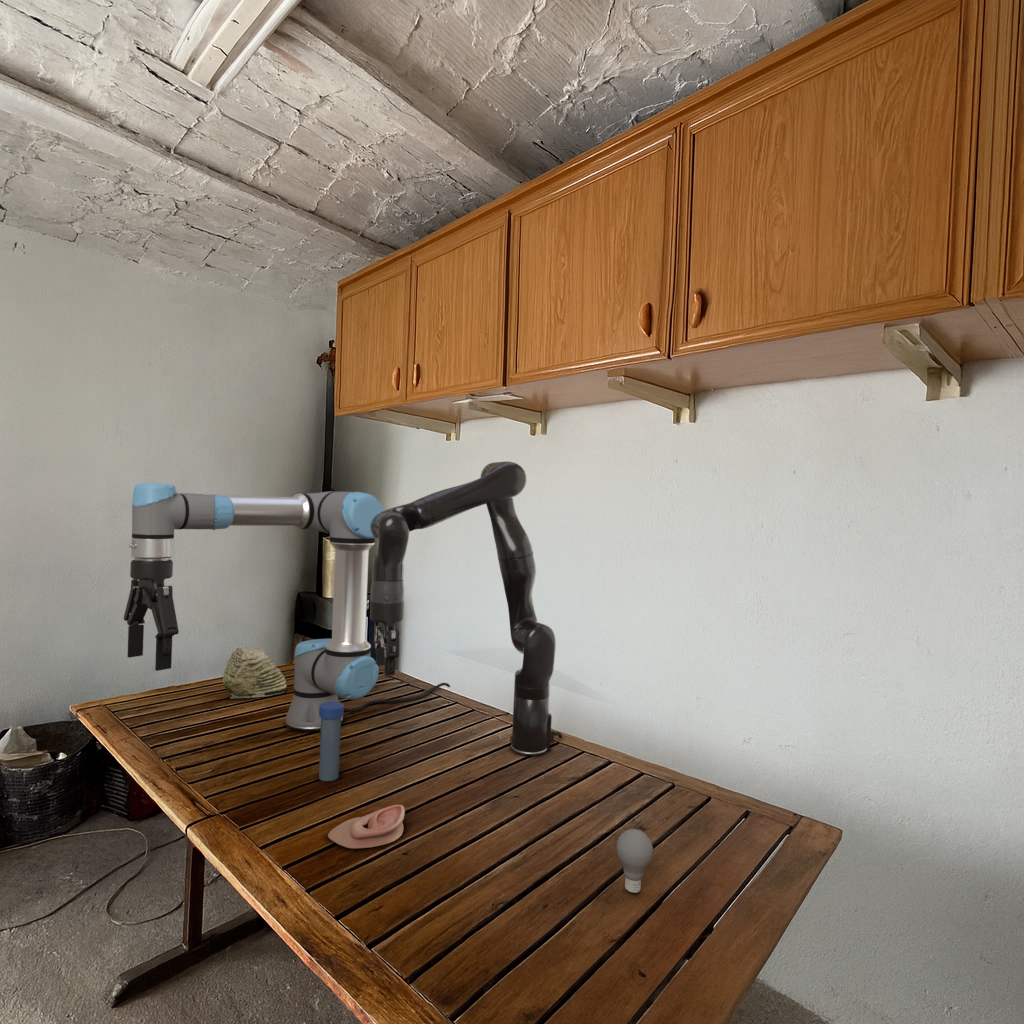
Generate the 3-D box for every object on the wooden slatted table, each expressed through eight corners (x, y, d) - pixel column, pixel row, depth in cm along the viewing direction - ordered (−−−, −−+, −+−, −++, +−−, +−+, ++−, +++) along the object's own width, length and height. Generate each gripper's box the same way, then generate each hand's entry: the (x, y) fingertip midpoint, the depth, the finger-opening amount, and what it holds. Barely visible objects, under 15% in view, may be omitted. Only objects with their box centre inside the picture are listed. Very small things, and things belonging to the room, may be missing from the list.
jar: (342, 777, 143) (345, 708, 143) (324, 783, 140) (326, 711, 140) (333, 771, 146) (336, 703, 146) (315, 776, 143) (317, 706, 143)
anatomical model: (320, 822, 115) (348, 794, 127) (319, 843, 116) (348, 813, 127) (388, 833, 113) (411, 803, 124) (387, 855, 113) (410, 823, 124)
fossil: (218, 695, 195) (220, 647, 195) (278, 685, 208) (279, 640, 207) (228, 703, 189) (230, 653, 188) (289, 692, 201) (290, 645, 201)
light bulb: (610, 879, 108) (613, 822, 108) (644, 879, 109) (647, 822, 109) (619, 902, 102) (622, 840, 102) (655, 901, 103) (658, 840, 103)
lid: (347, 716, 143) (348, 706, 143) (325, 720, 139) (326, 710, 139) (336, 709, 147) (336, 700, 147) (314, 714, 143) (315, 704, 143)
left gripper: (108, 554, 134) (104, 654, 134) (159, 565, 118) (155, 678, 119) (146, 552, 140) (143, 648, 140) (199, 563, 124) (195, 671, 124)
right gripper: (411, 603, 139) (409, 677, 139) (395, 593, 152) (393, 661, 152) (377, 605, 136) (375, 680, 136) (364, 594, 149) (362, 663, 149)
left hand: (148, 662), depth 129 cm, fingers open, 13 cm apart
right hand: (385, 669), depth 144 cm, fingers open, 8 cm apart
